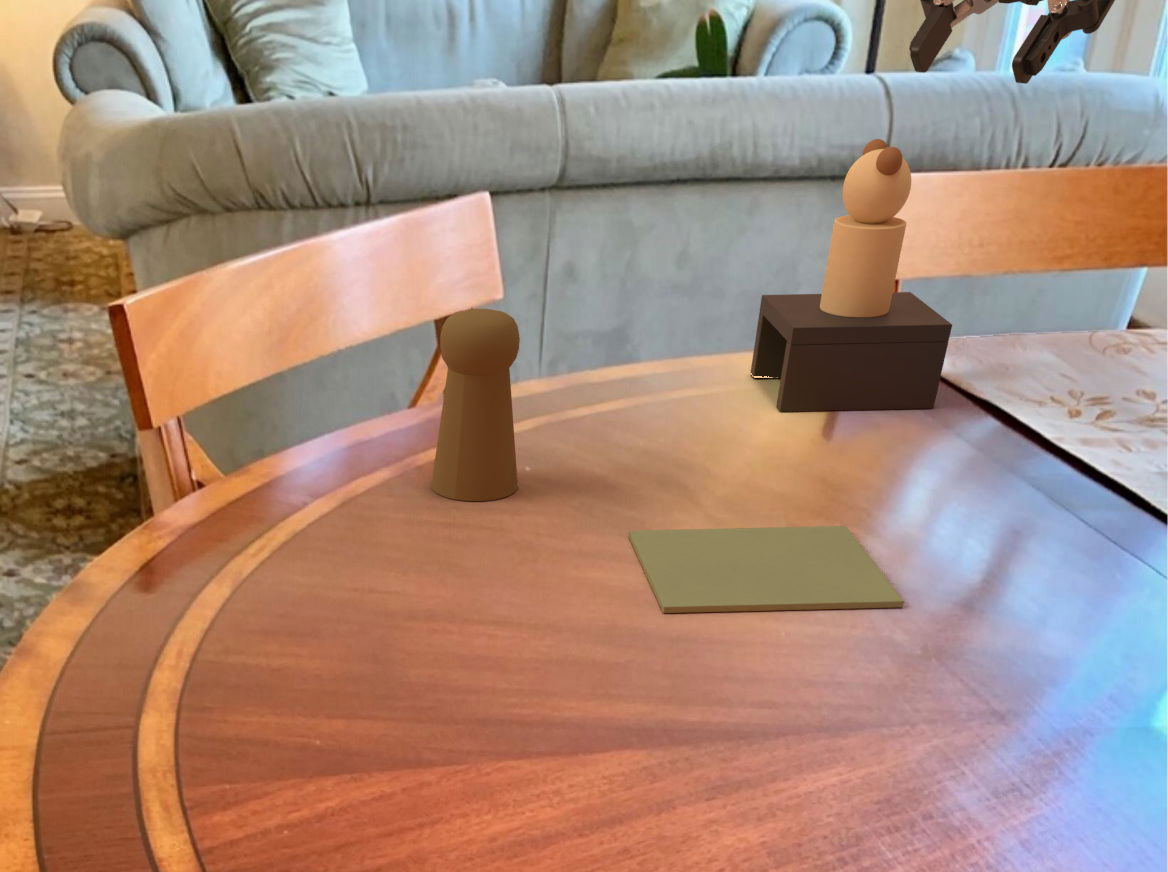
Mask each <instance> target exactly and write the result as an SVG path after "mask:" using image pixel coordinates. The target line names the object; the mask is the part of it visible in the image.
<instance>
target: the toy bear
mask: <svg viewBox="0 0 1168 872" xmlns="http://www.w3.org/2000/svg"><path fill="white" fill-rule="evenodd" d="M911 188H912V173H911V169H910V166H909V164H908V162H907V161H906V160H905V158H904V157H903V153H902V152H901V150H900V149H899V148H898V147H895V146H888V144H887V142H886V141H884V140H883V139H880V138H875V139H872V140H870V141H869V142H867V144H866V145H865V146H864V147H863V150H862V155H861V156H860V157H859V158H858V159H857V160H855V162H854V163H853V164H852V165H851V166H850V168H849V170H848V171H847V174H846V176H845V178H844V181H843V185H842V201H843V205H844V207H845V210H846V211H847V213H848V214H845V215H841V216H837V217H835V219H834V221H833V228H832V232H831V239H830V245H829V250H828V257H827V263H826V268H825V274H824V278H823V279H824V280H823V285H822V291H821V294H822V296H821V302H820V309H821V310H822V311H824V312H826V313H829V314H833V315H837V316H843V317H855V318H867V317H877V316H882V315H885V314H887V313H888V312H889V308H890V303H891V298H892V293H893V292H894V289H895V282H896V278H897V272H898V267H899V264H900V263H899V262H900V258H901V252H902V248H903V242H904V237H905V233H906V229H907V221H906V220H904V219H902V218H900V217H895V216H896V215H897V214H898V213H900V211H901V210H902V209H903V207H904V206H905V205H906V202H907V200H908V199H909V196H910V193H911Z"/></svg>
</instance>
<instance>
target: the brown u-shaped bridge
mask: <svg viewBox="0 0 1168 872" xmlns="http://www.w3.org/2000/svg"><path fill="white" fill-rule="evenodd" d="M821 296H822V293H798V294H797V293H795V294H794V293H791V294H762V295H761V298H760V304H759V312H758V320H757V327H756V333H755V338H754V339H755V340H754V346H753V354H752V360H751V366H750V373H752V375H753V376H762V377H764V376H767V377H768V376H769V377H781V378H780V381H779V388H778V394H777V400H776V405H775V408H776V409H777V410H778V411H779V412H781V413H788V412H789V413H790V412H793V413H794V412H831V411H833V412H834V411H838V412H839V411H875V410H876V411H877V410H879V411H880V410H881V411H883V410H886V411H887V410H927V409H928V410H929V409H934V408H935V403H936V398H937V395H938V389H939V386H940V381H941V378H942V373H943V369H944V364H945V359H946V355H947V350H948V347H949V341H950V338H951V332H952V328H953V324H952V323H951V322H950V321H948V320H947V319H946V318H945V317H943V316H942V315H941V314H939V312H937V311H936V310H934V309H933V308H932V307H930V306H929V305H928V304H927V303H925V302H924V301H922V300H921V299H920V297H918V296H916V295H915V294H914V293H912V292H911V291H900V292H899V291H896V292H895V291H893V293H892V298H891V303H890V308H889V312H888V313H887V314H885V315H882V316H877V317H867V318H855V317H843V316H837V315H833V314H829V313H826V312H824V311H822V310H821V309H820V302H821Z"/></svg>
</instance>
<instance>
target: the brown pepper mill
mask: <svg viewBox="0 0 1168 872" xmlns="http://www.w3.org/2000/svg"><path fill="white" fill-rule="evenodd" d="M439 337H440V338H439V341H440V342H439V348H440V354H441V358H442V360H443V362H444V364H445V365H446V367H447V372H446V379H445V387H444V394H443V401H442V406H441V407H442V408H441V414H440V420H439V428H438V435H437V441H436V449H435V457H434V464H433V471H432V477H431V484H430V485H431V487H430V488H431V490H432V491H433V492H434V493H436V494H438V495H439V496H441V497H444V498H447V499H451V500H456V501H465V502H487V501H495V500H501V499H503V498H507V497H509V496H512V495H513V494H515V493H516V492H517V491H518V489H519V483H518V482H519V481H518V470H517V455H516V442H515V441H516V440H515V427H514V414H513V399H512V383H511V372H510V369H511V367H512V365H514V363H515V361H516V359H517V357H518V354H519V350H520V341H521V340H520V338H521V337H520V332H519V326H518V324H517V322H516V320H515V318H514V317H512V316H511V315H510V314H508V313H506V312H505V311H501V310H497V309H491V308H469V309H464V310H459V311H456V312H454V313H452V314H451V315H449V317H447V318H446V319H445V321H444V323H443V325H442V326H441V331H440V335H439Z"/></svg>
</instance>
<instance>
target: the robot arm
mask: <svg viewBox="0 0 1168 872" xmlns="http://www.w3.org/2000/svg"><path fill="white" fill-rule="evenodd" d="M955 1H956V0H920V4H921V8H922V10H923V15H924V17H925V18H924V20H923V22H922V23H921V25H920V27H918V30H917V31H916V33H915V35H914V36H913V38H912V40H911V41H910V44H909V48H908V49H909V52H910V53H909V57H910V60H911V62H912V66H913V69H914V72H917V73H923V74H925V73H927V72H928V71H929V69H930V67H931V66H932V64H933V62H934V61H935V60H936V58H937V57H938V55H939V53H940V52H941V50H942V48H943V47H944V45H945V44H946V42H947V40H948V39H949V38H950V36H951V34H952V33H953V28H954V27H955V26H957V25H958V24H960V23H961V22H963V21H964V20H966V19H967V18H968V17H970V16H971V15H974V14H976V15H982V14H983V13H985V12H987V10H989V9H990V8H992V7H993V6H995V5H996V4H998V3H999V4H1013V3H1022V4H1024V5H1027V6H1038V4H1039V3H1040V2H1043V1H1044V0H962V1H960V2H959V3H957V4H956V5H955V6H954V2H955ZM1115 1H1116V0H1047V7H1048V8H1047V9H1048V14H1040V15H1039V18H1038V19H1037V20H1036V22H1035V24H1034V25H1033V27H1032V29H1031V30H1030V31H1029V33H1028V35H1027V36H1026V38H1025V39H1024V41H1023V42H1022V43H1021V45H1020V47H1019V49H1018V50H1017V52H1016V53H1015V54H1014V56H1013V58H1012V63H1011V68H1012V73H1013V76H1014V77H1013V78H1014V81H1015V83H1017V84H1025V85H1027V84H1028V83H1029V82H1030V80H1031V79H1032V77H1036V76H1037V75H1039V73H1040V72H1042V71H1043V69H1044V68H1045V66H1046V64H1047V62H1048V61H1049V60H1050V57H1052V55H1053V53H1054V52H1055V50H1056V49H1057V47H1058V46H1059V44H1060V43H1061V41H1062V40H1064V39H1067V38H1068V37H1069V36H1070V35H1071V34H1072V33H1073V32H1075V31H1076V32H1077V31H1081V30H1082V33H1083V34H1086V35H1089V34H1092V33H1094V32H1096V31H1097V30H1099V28H1100V27H1101V25H1102V24H1103V22H1104V20H1105V19H1106V17H1107V15H1108V13H1109V12H1110V10H1111V8H1112V6H1113V5H1114V3H1115Z"/></svg>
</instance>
